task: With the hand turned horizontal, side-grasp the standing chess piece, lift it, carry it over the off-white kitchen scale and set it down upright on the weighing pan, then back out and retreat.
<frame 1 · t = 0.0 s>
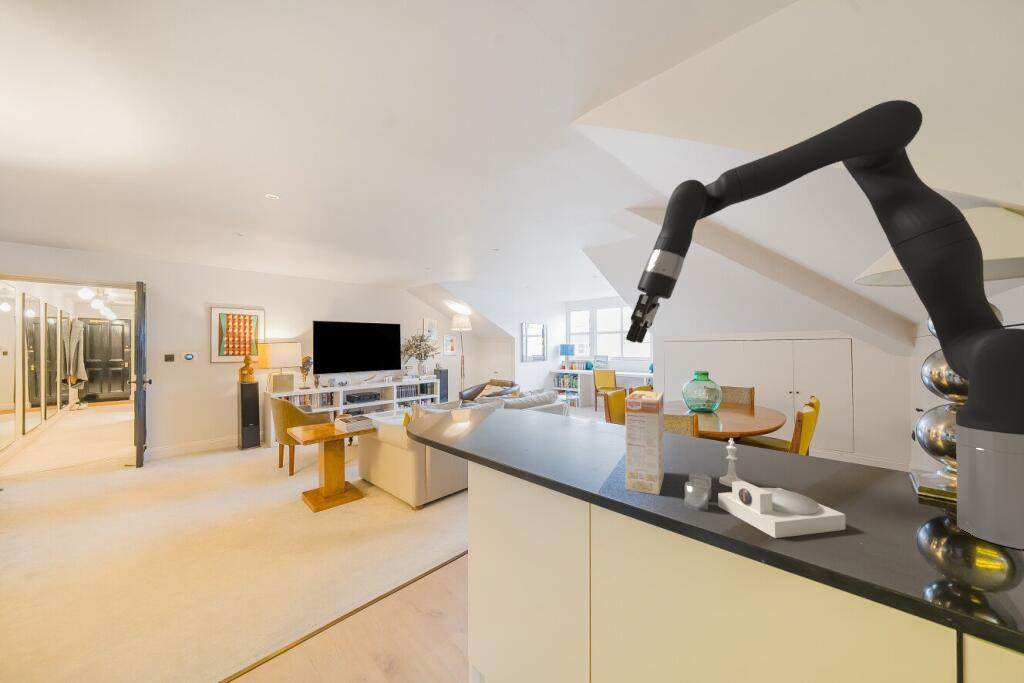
hand: (634, 341, 87), 31 cm above the counter, tool tilted 20°, fingers open, 8 cm apart
spacer 1: (700, 496, 76), on the counter
coffeecake box: (645, 482, 85), on the counter
chess piece: (731, 484, 83), on the counter
spacer 2: (696, 506, 71), on the counter
scale: (777, 517, 67), on the counter
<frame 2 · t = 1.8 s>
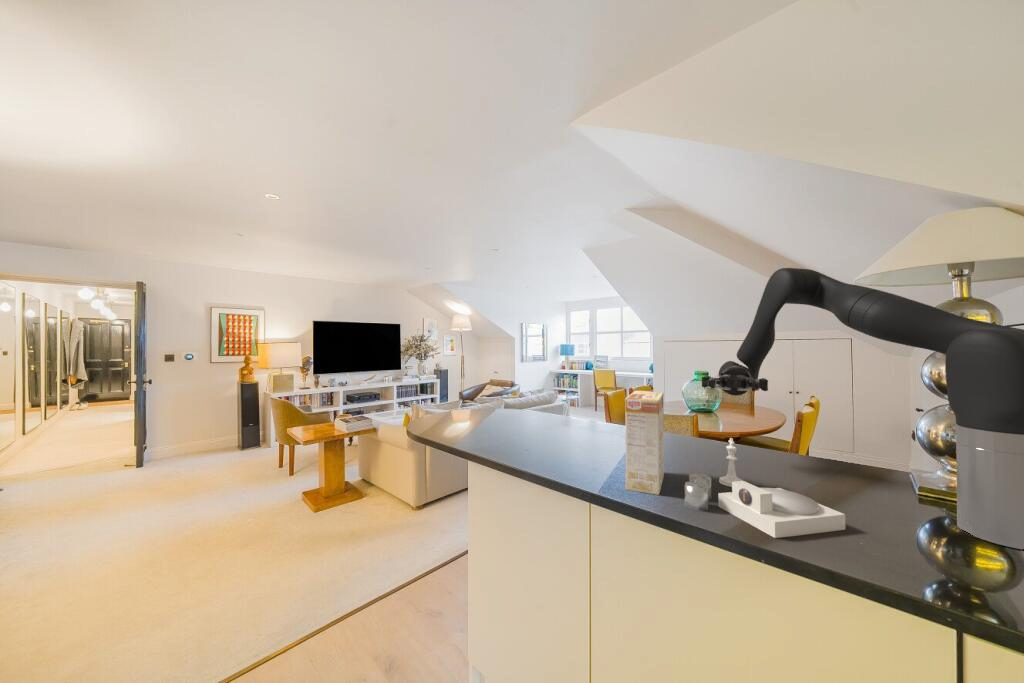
hand: (732, 385, 90), 21 cm above the counter, tool horizontal, fingers open, 8 cm apart
nothing on the counter moved.
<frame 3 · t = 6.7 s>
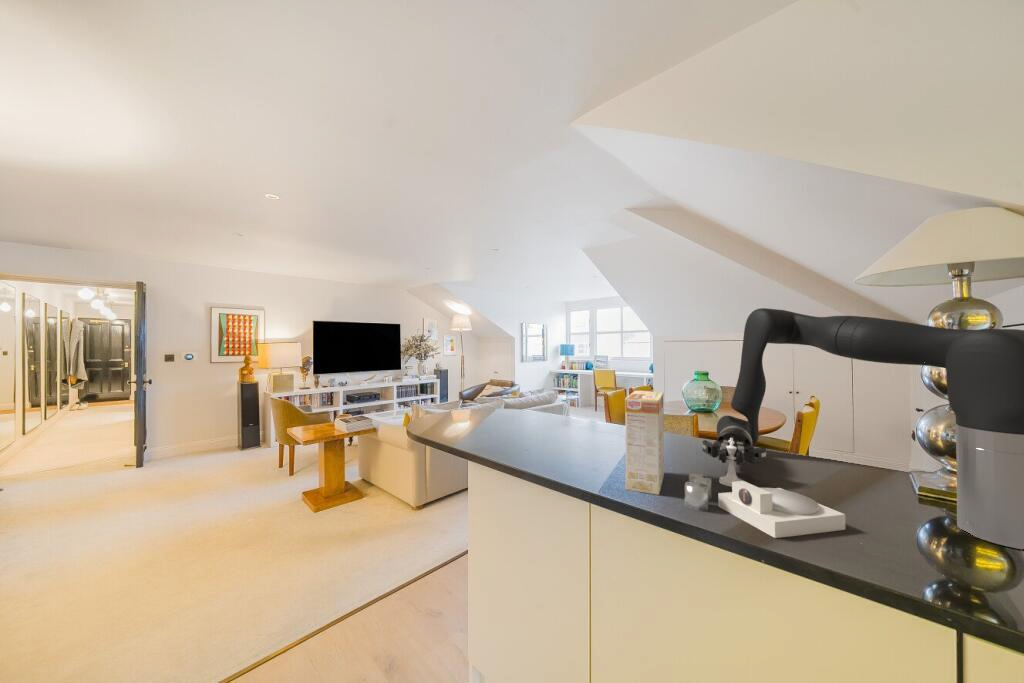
hand: (731, 459, 81), 6 cm above the counter, tool horizontal, fingers closed on chess piece
chess piece: (731, 484, 83), on the counter, touching gripper
everything else where it was.
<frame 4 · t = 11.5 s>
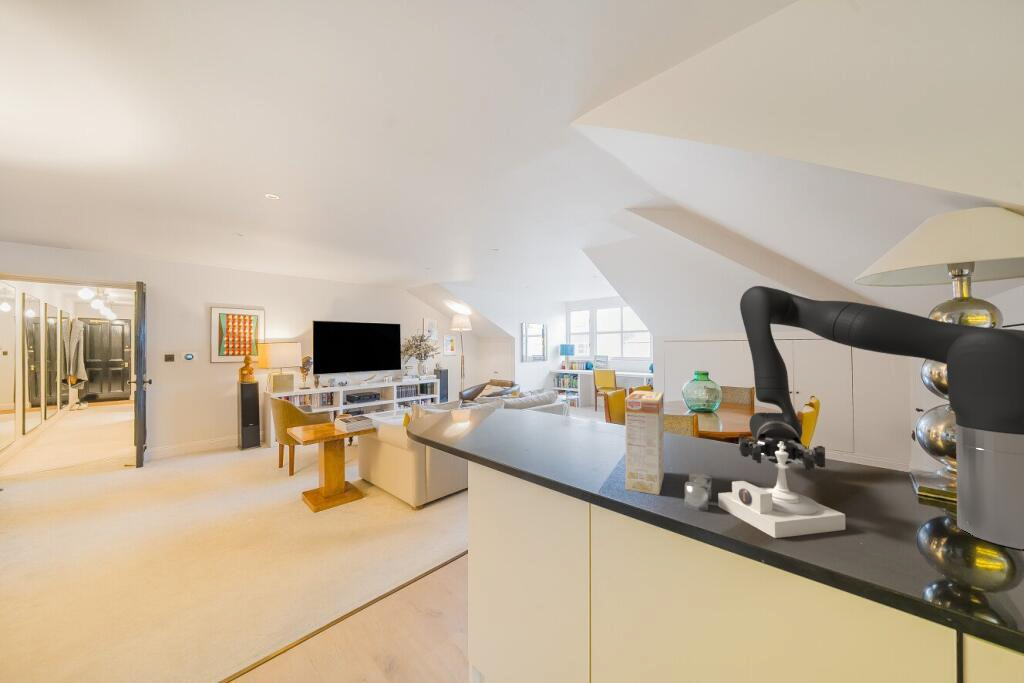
hand: (782, 460, 65), 10 cm above the counter, tool horizontal, fingers open, 6 cm apart
chess piece: (781, 499, 67), point 3 cm above the counter, touching scale
everything else where it was.
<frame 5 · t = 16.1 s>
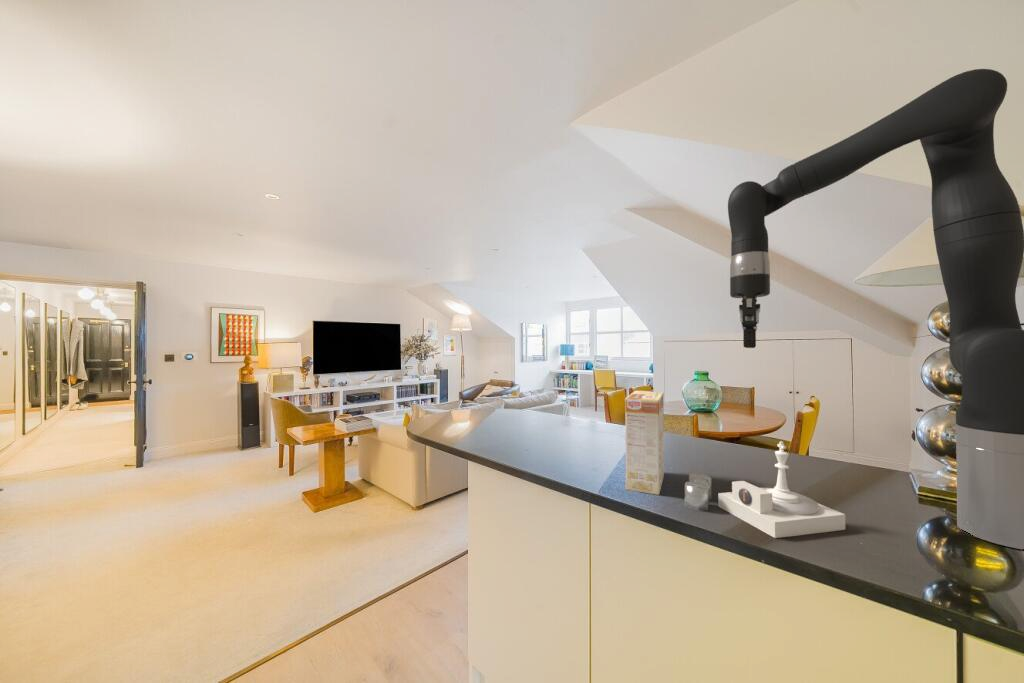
hand: (749, 347, 84), 30 cm above the counter, tool pointing down, fingers open, 8 cm apart
nothing on the counter moved.
at the end: chess piece inside the target area on the scale (0.1 cm from its centre), point 3.1 cm above the scale's base; chess piece tilted 0°; the gripper is holding nothing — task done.
